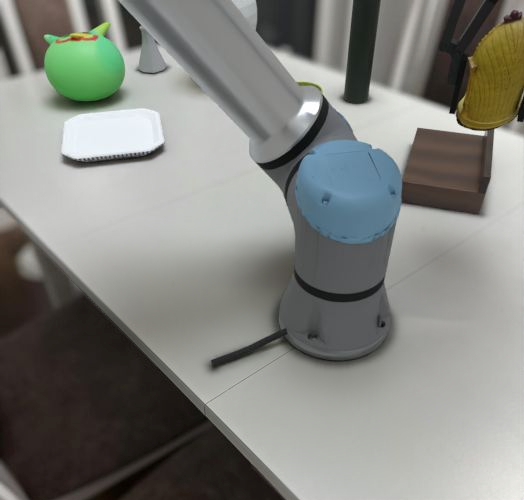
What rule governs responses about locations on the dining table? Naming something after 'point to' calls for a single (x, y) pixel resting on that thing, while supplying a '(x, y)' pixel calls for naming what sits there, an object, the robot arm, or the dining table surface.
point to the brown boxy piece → (448, 170)
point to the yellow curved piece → (495, 77)
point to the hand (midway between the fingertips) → (486, 113)
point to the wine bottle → (361, 49)
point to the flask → (150, 54)
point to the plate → (112, 135)
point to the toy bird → (84, 64)
